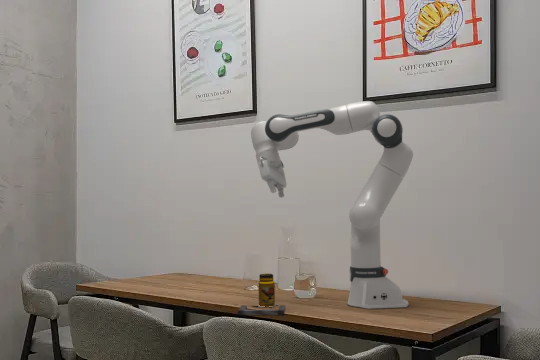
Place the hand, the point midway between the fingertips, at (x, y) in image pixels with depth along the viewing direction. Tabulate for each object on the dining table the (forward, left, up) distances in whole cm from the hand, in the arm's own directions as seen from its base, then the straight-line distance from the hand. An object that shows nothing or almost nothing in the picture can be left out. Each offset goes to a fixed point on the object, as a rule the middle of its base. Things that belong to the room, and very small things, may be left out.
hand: (277, 194), depth 237 cm
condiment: (+5, +3, -42) cm, 42 cm away
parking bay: (+5, +14, -42) cm, 44 cm away
